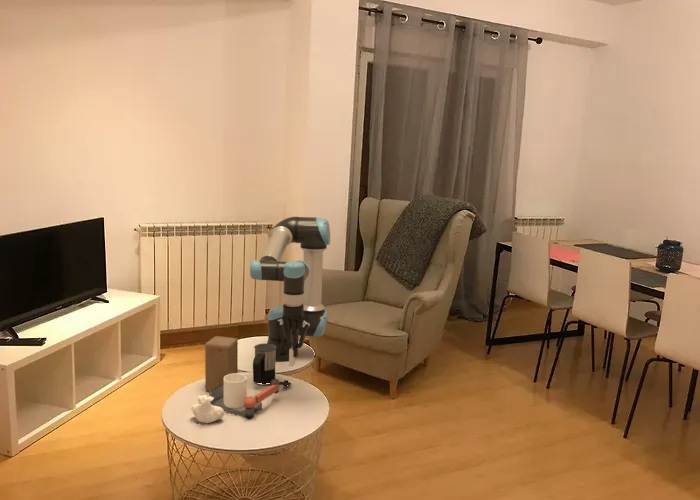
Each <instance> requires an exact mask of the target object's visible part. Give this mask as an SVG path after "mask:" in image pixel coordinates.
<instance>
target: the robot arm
mask: <svg viewBox="0 0 700 500" xmlns="http://www.w3.org/2000/svg"><path fill="white" fill-rule="evenodd" d="M269 235H270V239H269V241H268V243H267V245H266V247H265V249H264V252H263V253H262V256H261V257H260V259H253V260H252V261H251V263H250V267H249V274H250V278H251V279H252V280H256V281H269V282H270V281H272V282H283V297H282V298H283V301H282V302H283V304H280V305H276V306H273V307H272V308H270V310H269V311H268V317H267V320H268V322H267V323H268V326H267V327H268V329H267V331H268V332H267V337H268V338H267V342H266V344H273V345H275V346H276V347H277V348H276V362H286V361H288V366H289V367H294V366H295V364H296V358H297V357H298V353H299V349H301V348H302V347H303V346H304V342H305V339H306V337H313V338H314V337H317V338H319V337H322V336H323V335H324V334H325V330H326V325H327V321H328V316H329V315H328V314H329V313H328V311H327V310H325V306H324V305H323V304H322V298H323V297H322V294H323V293H322V291H323V267H324V264H323V263H324V252H325V251H326V250H327V248H328V247H327V246H329V245H330V244H331V228H330V223H329V220H328V219H326V218H324V217H323V218H322V217H313V216H312V217H309V216H290V217H287V218H284V219H282V220H281V221H279V222H277V224H276V225H274V226H273V228H272V229H271V231H270V234H269ZM293 243H294V244H300V249H301V250H302V251H303V260H295V261H293V260H291V261H281V260H282V258H283V256H284V254H285V252H286V249H287V246H289V245H290V244H293Z"/></svg>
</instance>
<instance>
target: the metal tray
mask: <svg viewBox="0 0 700 500" xmlns="http://www.w3.org/2000/svg"><path fill="white" fill-rule="evenodd" d="M209 396H211V397H214V399H213V401H211V405H213V406H219V407H221V408H222V409H223V410H224V412H226V413H230V414H233V415H236V416H239V417H242V418H245V419H247V420H251V419H254V418H255V415H254V414H255V412H256V411H258V410H260V409H261V408H262V407H263V403H262V402H261V405H259V406H258V407H256V408H254V407H253V408H246V407H244V406H243V407H240V408H228V407H226V406H225V405H224V383H222V384H220V385H219V386H217V387H215V388H213V389H211V390H209V391H208V397H209ZM260 407H261V408H260Z"/></svg>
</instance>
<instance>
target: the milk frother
mask: <svg viewBox="0 0 700 500" xmlns="http://www.w3.org/2000/svg"><path fill="white" fill-rule="evenodd" d="M253 348H254V358H253V361H252V378H253V379H252V381H253V383H254V382H256V383H262V384H266V383H270V385H271V380H273V379H276V362H277V361H276V348H277V347H276V346H275V345H273V344H267V343H259V344H258V343H257V344H256V345H254V347H253ZM256 383H255V384H256ZM287 385H288V386H289V385H290V386H291V385H292V382H291V381H289V379H284V380H283V381H279V386H283V387H284V386H287Z"/></svg>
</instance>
